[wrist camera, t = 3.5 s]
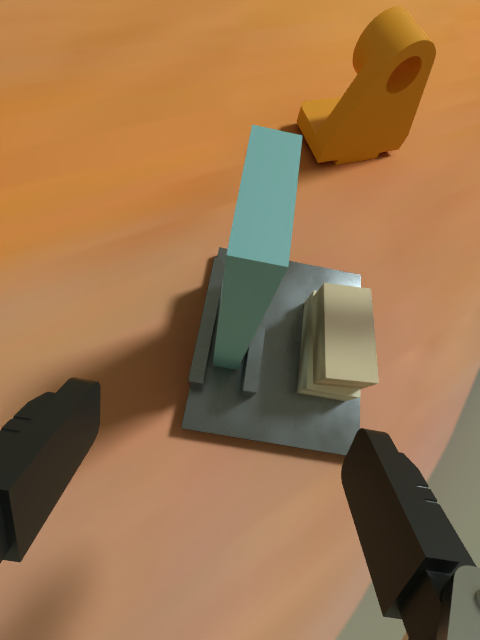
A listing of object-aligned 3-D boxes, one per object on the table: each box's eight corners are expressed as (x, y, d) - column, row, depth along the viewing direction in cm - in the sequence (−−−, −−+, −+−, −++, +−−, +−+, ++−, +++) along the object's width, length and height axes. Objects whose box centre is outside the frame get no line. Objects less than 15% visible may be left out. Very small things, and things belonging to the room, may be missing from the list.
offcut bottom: (345, 401, 25) (360, 397, 22) (296, 392, 25) (306, 388, 22) (347, 310, 28) (360, 299, 25) (304, 302, 27) (313, 290, 25)
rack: (352, 456, 24) (380, 460, 21) (182, 428, 24) (178, 426, 20) (355, 280, 30) (377, 257, 26) (218, 254, 30) (221, 226, 26)
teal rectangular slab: (237, 369, 25) (288, 267, 10) (212, 365, 25) (226, 255, 10) (247, 302, 27) (302, 135, 12) (225, 298, 27) (252, 124, 12)
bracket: (368, 114, 40) (432, -13, 29) (394, 155, 37) (475, 36, 26) (292, 124, 37) (329, -9, 26) (315, 168, 35) (367, 44, 24)
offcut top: (360, 388, 23) (378, 383, 20) (313, 384, 22) (325, 377, 20) (355, 302, 25) (370, 288, 23) (312, 297, 25) (323, 282, 23)
